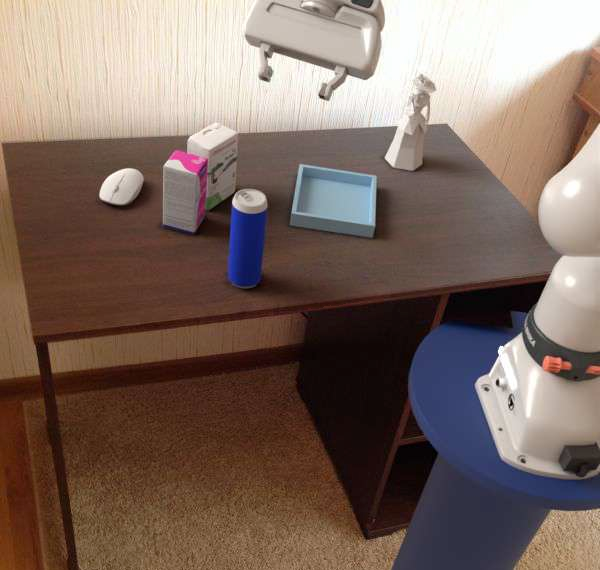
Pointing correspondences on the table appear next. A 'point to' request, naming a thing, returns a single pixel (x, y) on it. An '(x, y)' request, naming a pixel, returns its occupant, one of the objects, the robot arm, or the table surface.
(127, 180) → the computer mouse
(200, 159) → the supplement box
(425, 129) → the figurine
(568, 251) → the robot arm
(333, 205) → the tray
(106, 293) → the table surface
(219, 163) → the ink box
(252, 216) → the beverage can
